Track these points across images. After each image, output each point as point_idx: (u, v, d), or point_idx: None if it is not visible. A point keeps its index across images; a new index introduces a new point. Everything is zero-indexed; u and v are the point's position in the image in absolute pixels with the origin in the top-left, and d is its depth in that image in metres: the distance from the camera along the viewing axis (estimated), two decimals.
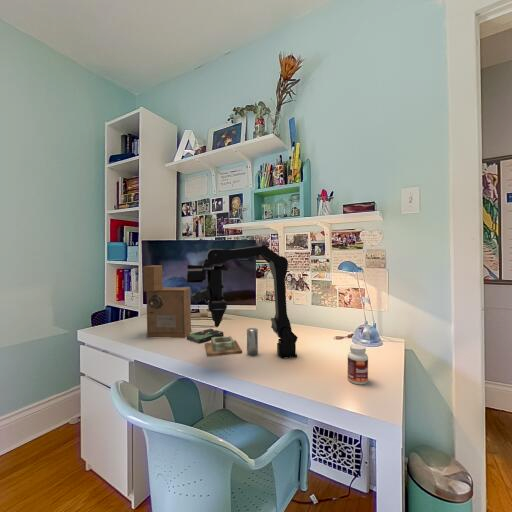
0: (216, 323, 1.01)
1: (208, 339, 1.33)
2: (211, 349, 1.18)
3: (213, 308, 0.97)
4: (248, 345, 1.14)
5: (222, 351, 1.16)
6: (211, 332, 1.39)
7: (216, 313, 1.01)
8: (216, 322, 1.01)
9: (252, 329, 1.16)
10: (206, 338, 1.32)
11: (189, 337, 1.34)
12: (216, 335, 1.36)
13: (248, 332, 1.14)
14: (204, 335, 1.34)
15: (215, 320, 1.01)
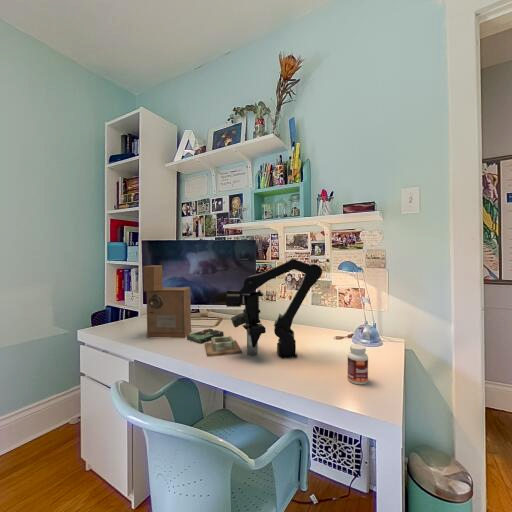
0: (253, 344, 1.12)
1: (209, 339, 1.33)
2: (211, 349, 1.18)
3: (253, 333, 1.06)
4: (248, 345, 1.14)
5: (222, 351, 1.16)
6: (211, 332, 1.39)
7: (253, 335, 1.12)
8: (253, 343, 1.12)
9: None
10: (207, 338, 1.32)
11: (190, 337, 1.33)
12: (216, 335, 1.36)
13: None
14: (205, 335, 1.34)
15: (252, 341, 1.12)
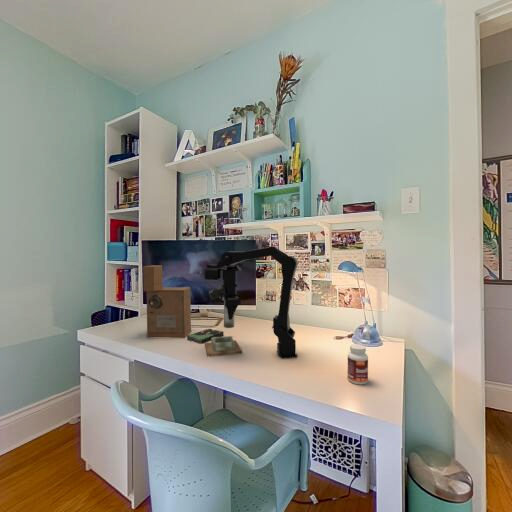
0: (229, 316, 1.17)
1: (210, 339, 1.33)
2: (211, 349, 1.18)
3: (229, 304, 1.10)
4: (225, 317, 1.18)
5: (222, 351, 1.16)
6: (211, 332, 1.39)
7: (230, 307, 1.16)
8: (229, 315, 1.16)
9: None
10: (208, 338, 1.32)
11: (190, 337, 1.33)
12: (217, 335, 1.37)
13: None
14: (205, 335, 1.34)
15: (229, 313, 1.16)
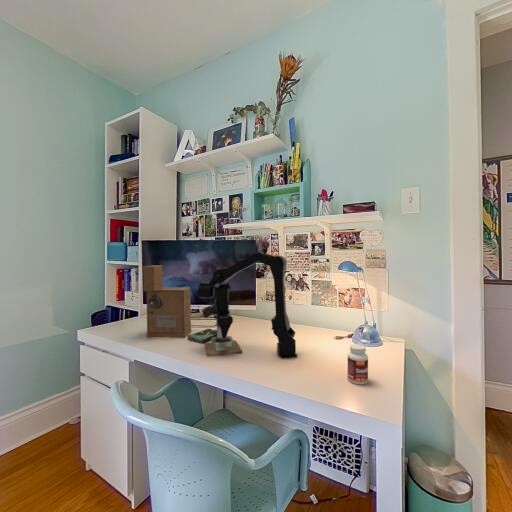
0: (223, 335, 1.16)
1: (210, 339, 1.33)
2: (211, 349, 1.18)
3: (221, 322, 1.12)
4: (218, 338, 1.20)
5: (222, 351, 1.16)
6: (211, 332, 1.40)
7: (223, 326, 1.16)
8: (223, 334, 1.16)
9: None
10: (209, 338, 1.32)
11: (191, 338, 1.33)
12: None
13: (218, 325, 1.20)
14: (206, 335, 1.34)
15: (222, 332, 1.16)
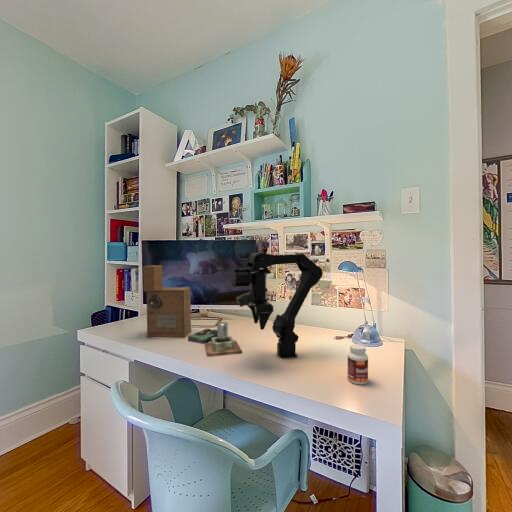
0: (262, 326, 1.04)
1: None
2: (211, 349, 1.18)
3: (261, 311, 0.99)
4: (218, 338, 1.20)
5: (222, 351, 1.16)
6: (211, 332, 1.40)
7: (262, 316, 1.03)
8: (262, 325, 1.03)
9: (223, 323, 1.22)
10: (210, 338, 1.32)
11: (191, 338, 1.32)
12: None
13: (218, 326, 1.20)
14: (207, 335, 1.34)
15: (261, 323, 1.03)
